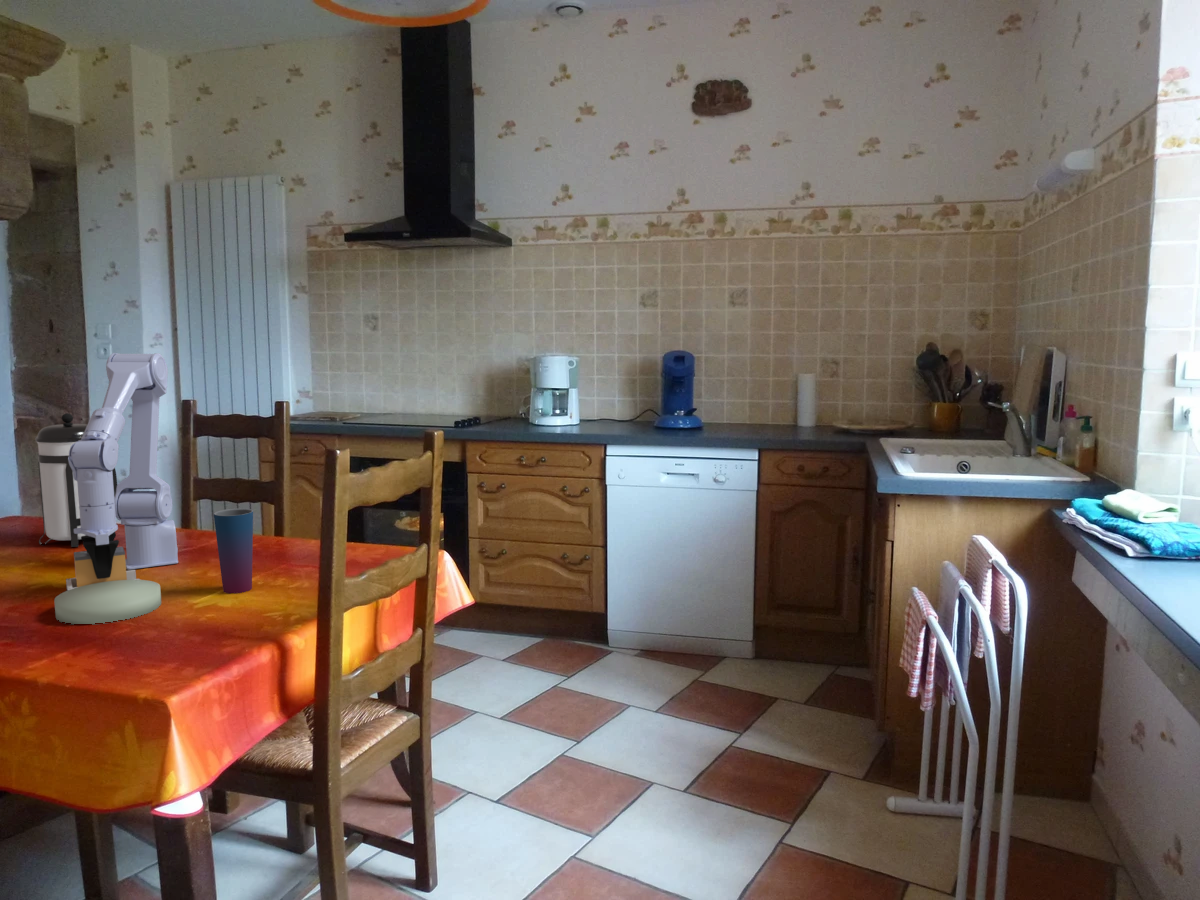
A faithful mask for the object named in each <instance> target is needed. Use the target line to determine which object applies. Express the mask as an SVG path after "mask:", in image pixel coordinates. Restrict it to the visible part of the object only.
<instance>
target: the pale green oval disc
mask: <svg viewBox="0 0 1200 900" xmlns="http://www.w3.org/2000/svg"><path fill="white" fill-rule="evenodd" d="M136 571H137V570H136V569H130V570H126V575H127V580H116V581H107V582H100V583H94V584H89V585H85V586H81V587H77V584H76V577H72V578H71V577H70V578H65V582H66V583H65V585H66V590H65V591H63V592H62V593H60V594H58V595H57V596H55V598H54V610H55V611H54V614H55V618H56V619H55V620H57V621H58V620H59V621H58V622H60V623H62V622H65V623H64V624H66V623H71V624H70V625H74V624H92V625H96V624H95V623H103V624H106V623H105V622H111V623H114V622H113V621H117V622H119V621H118V620H123V621H126V620H125V619H127V620H130V618H131V619H135V618H138V616H139V617H141V615H142V616H144V614H145V615H146V614H147V615H148V614H149V613H151V612H154V611H155V610H157V609H159V606H161V605H162V593H161V585H160V584H159V583H158V582H156V581H152V580H146V579H140V578H137V573H136ZM153 610H154V611H153ZM134 617H135V618H134Z"/></svg>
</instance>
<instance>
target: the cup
mask: <svg viewBox="0 0 1200 900" xmlns="http://www.w3.org/2000/svg"><path fill="white" fill-rule="evenodd" d="M213 521H214V526H215V527H214V528H215V536H216V542H217V551H218V560H219V568H220V575H221V577H220V578H221V584H222V591H223V593H226V594H231V593H234V594H243V593H246V591H247V592H249V591H251V590H252V589H253V550H254V549H253V546H254V545H253V537H254V535H253V533H254V510H253V509H251V508H250V509H249V508H243V507H242V508H228V509H221V510H218V511H215V512H214V513H213ZM242 592H243V593H242Z"/></svg>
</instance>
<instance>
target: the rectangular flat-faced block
mask: <svg viewBox="0 0 1200 900" xmlns="http://www.w3.org/2000/svg"><path fill="white" fill-rule="evenodd" d="M73 558H74V570H75V571H74V572H75V578H76V584H77V587H81V586H85V585H89V584H94V583H100V582H107V581H116V580H127V575H126V571H127V568H126V562H125V559H126V552H125V549H124V547H123V546H117V548H116V550H115V553H114V557H113V562H112V570H111V575H110V577H109V578H101V579H97V577H96V574H95V571H94V567H93V563H92V560H91V557H90V555H89V553H88V552H87V550H81V551H74V552H73Z"/></svg>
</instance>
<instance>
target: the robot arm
mask: <svg viewBox="0 0 1200 900" xmlns="http://www.w3.org/2000/svg"><path fill="white" fill-rule="evenodd" d="M105 367H106V369H105V371H106V375H107V380H108V381H109V382H108V385H107V389H106V393H105V397H104V400H103V403H102V406H101V408H97V409H95V410H93V412H92V413H91V416H90V419H89V420H88V423H87V427H86V429H85V432H84V434H83V436H82V438H81V440H79V441H78V442H76V443H74V444H72V446H71V447H70V450H69V457H68V461H69V465H70V467H71V469H72V471H73V478H74V480H76V481H77V485H78V497H79V509H80V522H81V528H75V529H74V534H80V533H81V534H84V535H86V536H82V537H81V539H80V540H81V541H82V545H83V547H84V549H85V551H87V552H88V553H89V555H90V557H91V560H92V563H93V567H94V571H95V574H96V577H97V579H101V578H109V577H110V575H111V570H112V562H113V557H114V553H115V550H116V548H117V547H119V543H120V541H119V539H116V540H115V538H116V537H117V534H116V531H118V529H119V525H118V524H117V521H120V525H124V535H125V536H124V537H125V550H126V552H125V553H126V558H125V562H126V570H127V571H130V570H137V569H143V568H151V567H152V568H153V567H159V566H160V567H161V566H166V565H174V564H178V563H179V558H178V553H179V552H178V551H179V550H178V549H179V548H178V545H177V544H178V542H177V532H176V531H177V530H176V524H175V520H174V519H168V518H169V517H170V515H171V514H172V511H173V499H172V494H171V493H172V492H171V486H170V484H169V483H168V482H166V481H165V480H164V479H162V478H161V477H159V476H158V475H157V468H158V466H157V464H158V440H159V418H160V417H159V415H160V397H163V396H164V395H165V394H167V388H168V373H169V372H168V371H169V369H168V365H167V362H166V359H165V357H163V355H162V354H161V353H159V352H155V353H118V352H112V353H111V354H110V355H109V357H108V358H107V360H106V364H105ZM130 400H131V401H132V408H131V409H132V410H131V412H132V413H131V431H130V433H131V435H130V455H129V457H130V458H129V473H128V474H129V475H128V476H126V477H125V478H124V479H123V480H121V481H120V482H119V483H117V488H116V494H115V497H114V486H113V473H112V470H113V469H114V468H115V469H116V466H117V464H118V461H119V460H118V459H119V450H120V448H119V447H120V445H119V443H118V442H119V439H120V437H121V435H122V432H123V430H124V427H125V424H126V419H125V417H124V415H123V413H124V411H125V410H126V407H127V406H128V404H129V402H130Z"/></svg>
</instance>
